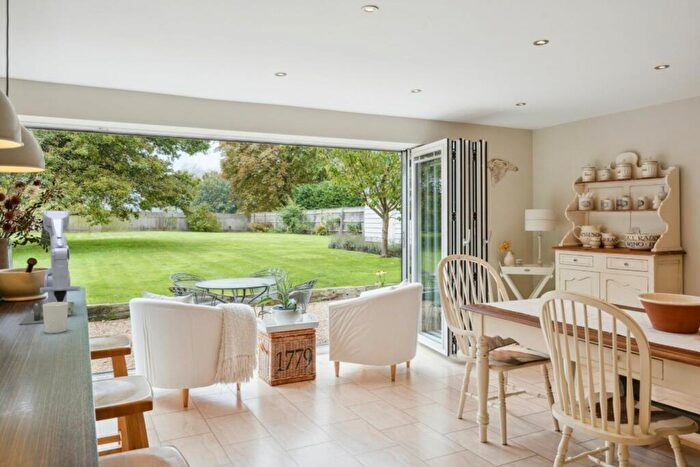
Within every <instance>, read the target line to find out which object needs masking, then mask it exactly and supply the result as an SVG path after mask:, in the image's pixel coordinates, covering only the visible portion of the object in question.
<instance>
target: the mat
mask: <svg viewBox="0 0 700 467" xmlns="http://www.w3.org/2000/svg"><path fill="white" fill-rule="evenodd" d="M40 324H42V325H44V319H40V320H39V321H34V312H31V313H29V314H28V315H27V316H26V317H25V318H24V319H23V320H21V322H20V323H19V324H18V325H19V326H26V325H40Z"/></svg>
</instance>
